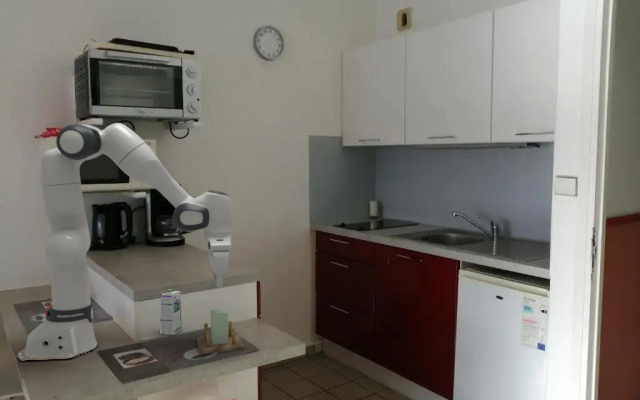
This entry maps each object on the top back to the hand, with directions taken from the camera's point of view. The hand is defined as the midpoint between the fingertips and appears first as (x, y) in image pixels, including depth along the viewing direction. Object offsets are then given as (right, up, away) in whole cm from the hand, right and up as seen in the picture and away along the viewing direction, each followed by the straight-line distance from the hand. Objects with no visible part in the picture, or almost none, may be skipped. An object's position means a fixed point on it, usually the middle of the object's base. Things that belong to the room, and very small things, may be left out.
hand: (217, 283), depth 172 cm
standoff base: (0, -20, +2) cm, 20 cm away
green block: (0, -19, +2) cm, 19 cm away
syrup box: (-19, -19, +14) cm, 31 cm away
